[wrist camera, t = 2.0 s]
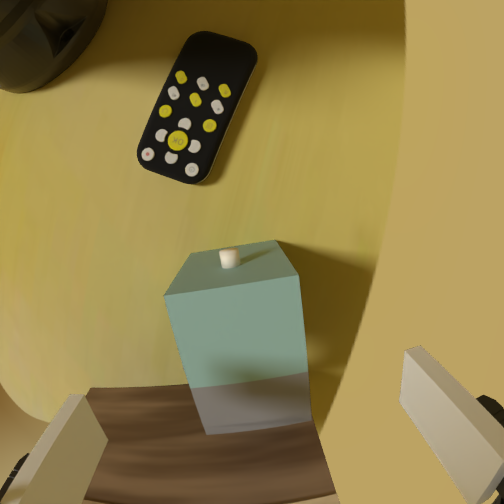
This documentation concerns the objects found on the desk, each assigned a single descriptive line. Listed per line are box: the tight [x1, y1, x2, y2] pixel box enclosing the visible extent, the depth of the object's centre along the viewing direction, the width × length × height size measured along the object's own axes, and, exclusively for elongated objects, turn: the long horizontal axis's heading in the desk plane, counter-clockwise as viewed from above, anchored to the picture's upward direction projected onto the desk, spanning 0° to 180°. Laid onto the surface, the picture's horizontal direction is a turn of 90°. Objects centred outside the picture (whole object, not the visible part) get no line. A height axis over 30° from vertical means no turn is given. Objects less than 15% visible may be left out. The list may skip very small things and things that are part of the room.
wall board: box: [82, 384, 340, 504], centre depth 20 cm, size 2×22×17 cm, turn 99°
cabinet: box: [164, 240, 312, 435], centre depth 22 cm, size 11×7×10 cm, turn 9°
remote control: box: [137, 31, 258, 184], centre depth 22 cm, size 6×13×2 cm, turn 158°
